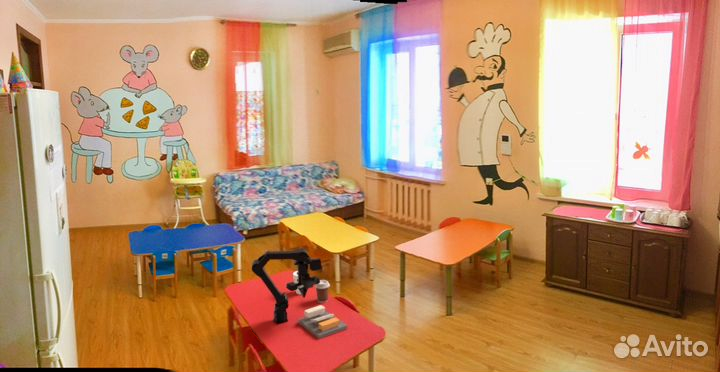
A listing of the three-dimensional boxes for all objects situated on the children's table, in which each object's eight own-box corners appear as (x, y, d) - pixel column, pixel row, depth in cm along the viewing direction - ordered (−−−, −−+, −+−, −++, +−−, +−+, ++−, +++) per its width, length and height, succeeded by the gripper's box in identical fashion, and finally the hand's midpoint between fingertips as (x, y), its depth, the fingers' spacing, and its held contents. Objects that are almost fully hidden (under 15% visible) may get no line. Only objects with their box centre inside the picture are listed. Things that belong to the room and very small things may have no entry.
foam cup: (296, 296, 307) (296, 277, 305) (291, 291, 316) (290, 272, 313) (310, 293, 312) (310, 274, 309) (305, 288, 320) (304, 269, 317)
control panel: (319, 339, 257) (318, 331, 256) (298, 322, 275) (298, 315, 274) (347, 328, 268) (347, 321, 267) (325, 313, 285) (325, 307, 284)
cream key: (308, 318, 272) (308, 313, 271) (304, 315, 275) (304, 310, 274) (325, 312, 278) (324, 307, 278) (321, 309, 281) (321, 305, 281)
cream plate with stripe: (317, 321, 264) (316, 319, 264) (310, 321, 270) (310, 319, 270) (334, 315, 270) (333, 313, 271) (327, 315, 276) (327, 313, 276)
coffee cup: (325, 295, 309) (324, 277, 306) (333, 301, 301) (332, 282, 299) (312, 299, 303) (312, 281, 301) (320, 305, 296) (320, 286, 294)
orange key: (322, 331, 260) (322, 326, 260) (318, 328, 264) (318, 323, 263) (339, 325, 267) (339, 320, 266) (335, 322, 270) (335, 317, 269)
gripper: (295, 280, 261) (296, 307, 265) (325, 271, 272) (325, 298, 275) (285, 273, 270) (286, 299, 273) (314, 265, 281) (315, 291, 284)
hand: (303, 297), depth 276 cm, fingers closed
